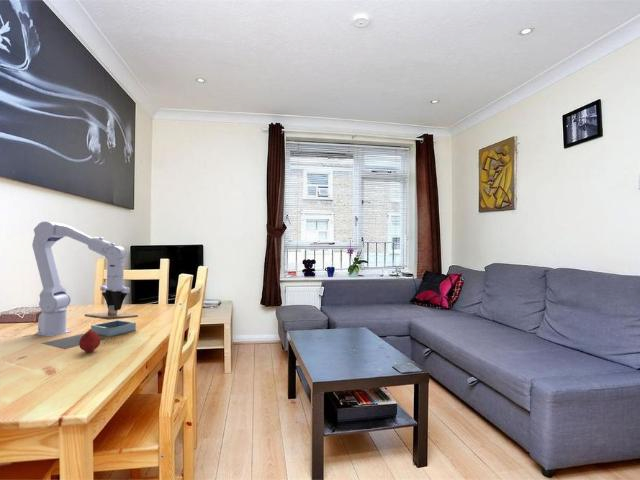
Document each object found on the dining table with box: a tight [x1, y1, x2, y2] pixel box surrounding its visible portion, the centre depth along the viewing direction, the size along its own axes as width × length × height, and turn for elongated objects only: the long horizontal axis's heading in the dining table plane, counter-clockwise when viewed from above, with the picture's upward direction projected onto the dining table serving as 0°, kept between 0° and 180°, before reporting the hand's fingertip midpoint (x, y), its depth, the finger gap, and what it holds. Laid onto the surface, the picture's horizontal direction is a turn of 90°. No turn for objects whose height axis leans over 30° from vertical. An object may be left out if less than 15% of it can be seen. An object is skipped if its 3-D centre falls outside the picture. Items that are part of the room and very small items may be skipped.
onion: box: [79, 327, 102, 353], centre depth 111 cm, size 6×6×8 cm
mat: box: [40, 333, 106, 350], centre depth 122 cm, size 14×14×1 cm
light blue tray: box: [90, 319, 137, 338], centre depth 135 cm, size 11×11×4 cm
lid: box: [84, 305, 139, 321], centre depth 135 cm, size 13×13×4 cm
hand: (114, 309), depth 135 cm, fingers closed on lid, 3 cm apart
